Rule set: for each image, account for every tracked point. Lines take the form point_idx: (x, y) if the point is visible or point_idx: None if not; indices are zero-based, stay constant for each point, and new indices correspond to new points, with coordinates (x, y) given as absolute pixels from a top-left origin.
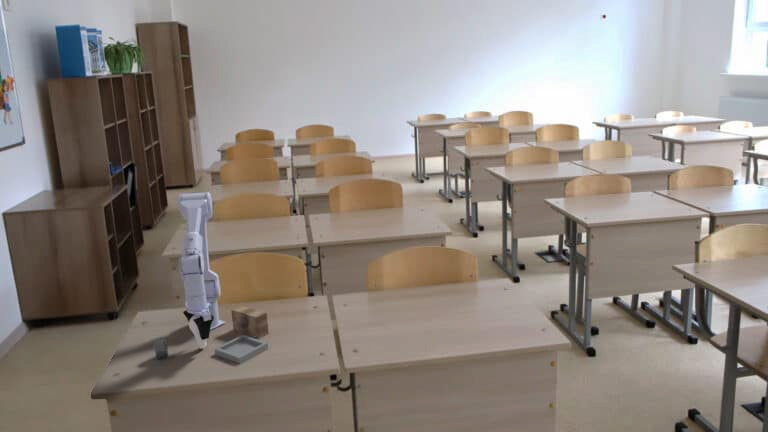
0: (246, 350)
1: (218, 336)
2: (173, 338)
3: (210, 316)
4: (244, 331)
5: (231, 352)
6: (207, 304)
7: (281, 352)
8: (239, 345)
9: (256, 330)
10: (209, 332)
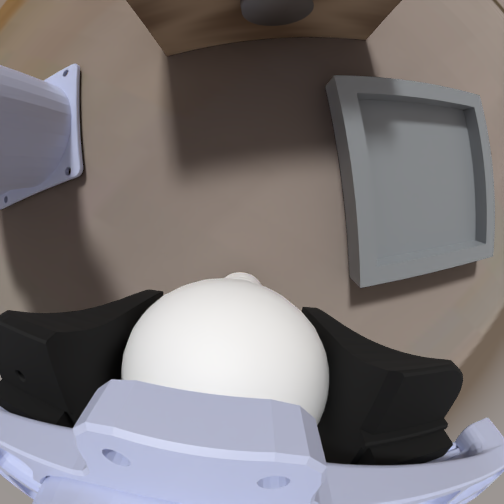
0: (446, 168)
1: (169, 147)
2: (55, 309)
3: (499, 438)
4: (259, 34)
5: (415, 225)
6: (231, 502)
7: (500, 105)
8: (387, 150)
9: (365, 20)
10: (335, 320)
